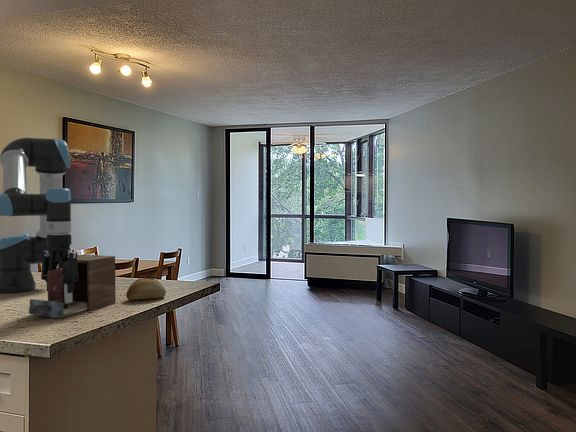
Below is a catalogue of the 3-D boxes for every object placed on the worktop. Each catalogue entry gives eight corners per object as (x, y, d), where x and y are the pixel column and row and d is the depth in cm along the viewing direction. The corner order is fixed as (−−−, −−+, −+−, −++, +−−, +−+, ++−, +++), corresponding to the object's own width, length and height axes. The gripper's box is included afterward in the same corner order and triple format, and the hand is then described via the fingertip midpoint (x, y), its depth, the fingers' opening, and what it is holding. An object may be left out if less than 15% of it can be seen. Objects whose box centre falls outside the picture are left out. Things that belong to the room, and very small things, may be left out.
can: (71, 307, 164) (70, 267, 164) (63, 312, 158) (63, 270, 157) (52, 307, 164) (52, 267, 163) (45, 312, 157) (44, 270, 157)
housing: (58, 307, 169) (57, 258, 168) (85, 300, 181) (85, 254, 180) (89, 310, 164) (89, 260, 163) (115, 303, 176) (115, 256, 175)
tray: (19, 317, 154) (19, 302, 153) (60, 306, 169) (60, 292, 169) (51, 321, 149) (51, 305, 149) (91, 309, 165) (90, 295, 165)
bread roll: (123, 299, 184) (123, 278, 184) (161, 295, 192) (161, 275, 191) (129, 303, 176) (128, 282, 175) (168, 299, 183) (168, 278, 183)
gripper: (27, 233, 160) (29, 301, 160) (73, 235, 153) (74, 306, 154) (46, 232, 167) (47, 297, 167) (90, 233, 160) (91, 301, 161)
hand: (60, 301), depth 161 cm, fingers open, 7 cm apart
